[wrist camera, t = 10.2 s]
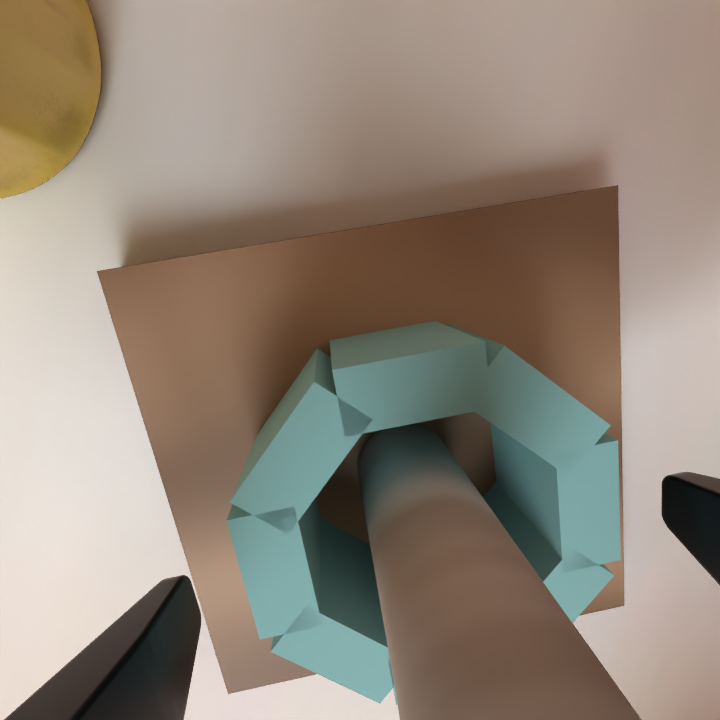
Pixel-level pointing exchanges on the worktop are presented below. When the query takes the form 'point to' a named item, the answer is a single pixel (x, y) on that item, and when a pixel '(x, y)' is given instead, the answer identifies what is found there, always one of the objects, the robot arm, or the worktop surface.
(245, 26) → the worktop surface
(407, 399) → the ring
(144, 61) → the worktop surface
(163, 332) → the post stand
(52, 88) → the vase
